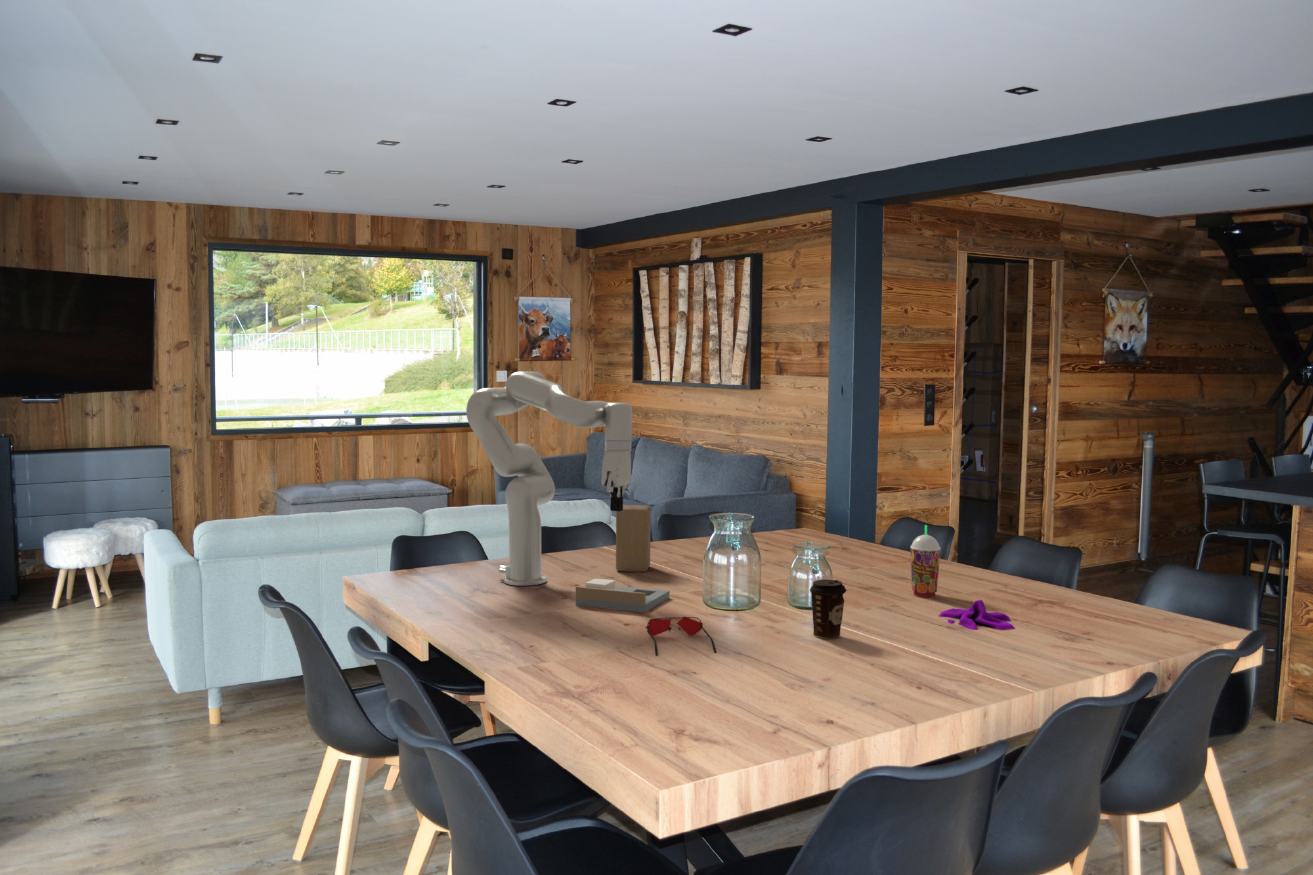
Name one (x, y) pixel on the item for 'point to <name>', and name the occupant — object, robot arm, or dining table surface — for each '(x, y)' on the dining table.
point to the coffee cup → (827, 607)
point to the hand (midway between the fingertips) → (616, 510)
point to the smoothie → (925, 565)
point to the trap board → (620, 598)
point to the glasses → (685, 623)
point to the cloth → (978, 617)
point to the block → (633, 538)
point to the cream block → (601, 584)
